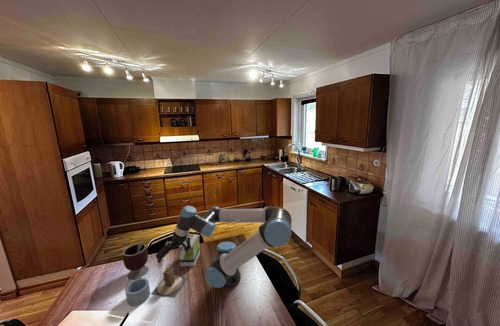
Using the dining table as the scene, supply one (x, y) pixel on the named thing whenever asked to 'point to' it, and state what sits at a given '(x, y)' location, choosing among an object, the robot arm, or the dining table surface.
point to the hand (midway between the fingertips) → (170, 262)
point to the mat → (170, 294)
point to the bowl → (137, 291)
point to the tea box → (190, 252)
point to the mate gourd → (136, 260)
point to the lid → (169, 283)
